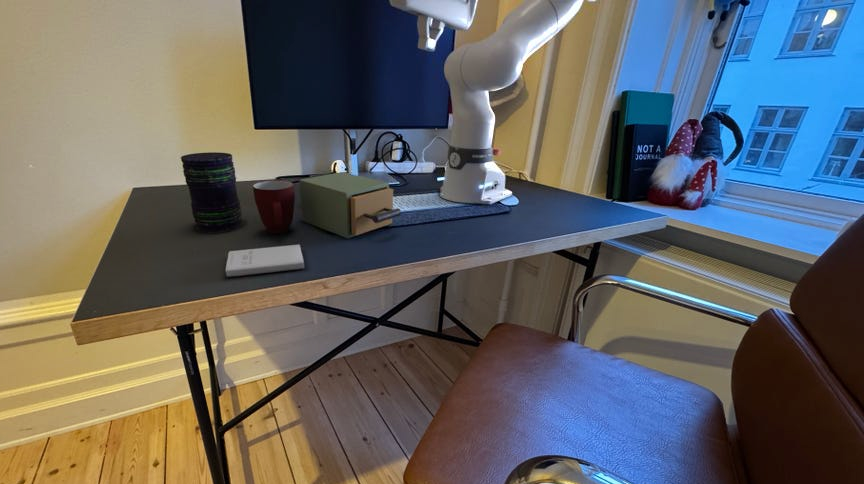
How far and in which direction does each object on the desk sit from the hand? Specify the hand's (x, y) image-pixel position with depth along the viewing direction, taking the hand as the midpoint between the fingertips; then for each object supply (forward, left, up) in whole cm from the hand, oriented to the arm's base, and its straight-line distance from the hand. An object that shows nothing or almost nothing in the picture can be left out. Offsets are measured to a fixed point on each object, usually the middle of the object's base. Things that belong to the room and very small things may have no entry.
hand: (425, 50), depth 66 cm
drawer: (+9, -9, -34) cm, 36 cm away
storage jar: (+34, -27, -35) cm, 56 cm away
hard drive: (+33, -2, -35) cm, 48 cm away
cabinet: (+10, -13, -34) cm, 38 cm away
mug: (+25, -15, -35) cm, 45 cm away
